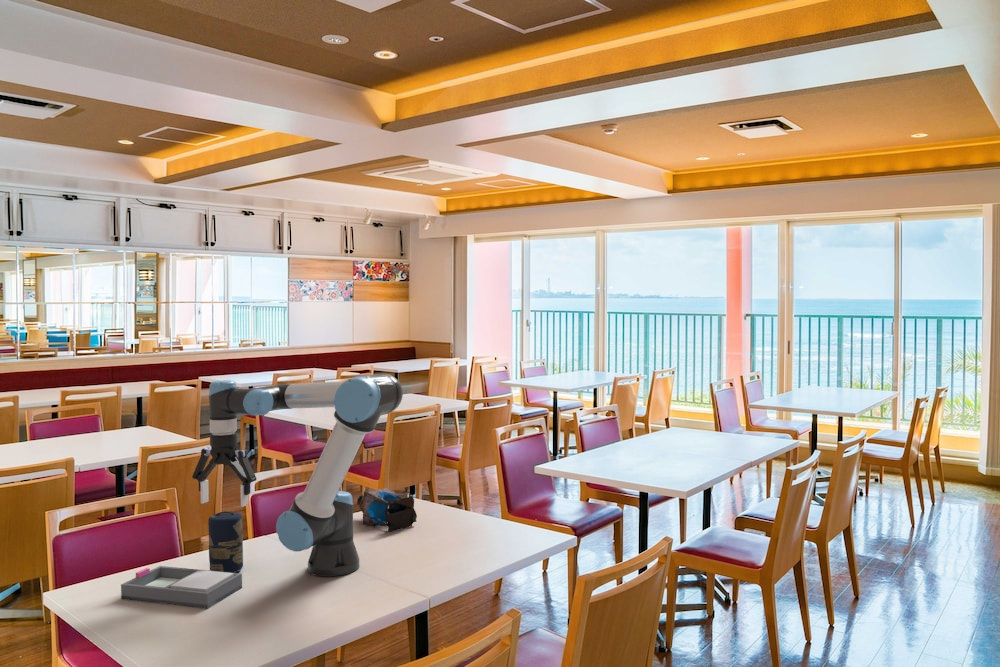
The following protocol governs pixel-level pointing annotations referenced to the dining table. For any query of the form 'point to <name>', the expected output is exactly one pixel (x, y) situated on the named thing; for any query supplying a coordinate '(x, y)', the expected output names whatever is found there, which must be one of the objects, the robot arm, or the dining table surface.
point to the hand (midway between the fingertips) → (224, 504)
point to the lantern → (387, 509)
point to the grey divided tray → (181, 586)
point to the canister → (225, 542)
